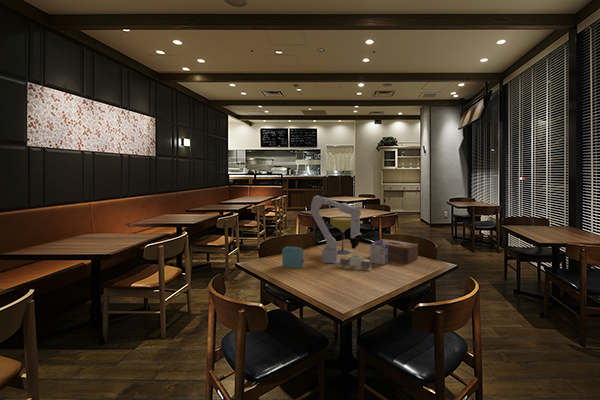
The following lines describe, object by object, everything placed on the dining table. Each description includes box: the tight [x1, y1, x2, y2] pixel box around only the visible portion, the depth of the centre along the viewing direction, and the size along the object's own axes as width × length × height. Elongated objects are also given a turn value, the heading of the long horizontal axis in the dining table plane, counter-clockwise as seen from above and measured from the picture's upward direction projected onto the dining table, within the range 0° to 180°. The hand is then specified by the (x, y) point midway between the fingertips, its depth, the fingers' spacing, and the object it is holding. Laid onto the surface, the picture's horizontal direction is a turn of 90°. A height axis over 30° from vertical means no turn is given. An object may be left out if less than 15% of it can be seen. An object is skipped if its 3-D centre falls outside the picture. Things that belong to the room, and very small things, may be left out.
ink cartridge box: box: [369, 239, 389, 266], centre depth 194 cm, size 10×6×14 cm, turn 56°
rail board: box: [338, 264, 373, 272], centre depth 186 cm, size 19×9×1 cm, turn 68°
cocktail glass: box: [329, 216, 351, 255], centre depth 220 cm, size 18×18×25 cm
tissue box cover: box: [371, 238, 419, 264], centre depth 207 cm, size 26×14×10 cm, turn 46°
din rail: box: [338, 263, 373, 268], centre depth 186 cm, size 19×5×1 cm, turn 68°
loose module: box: [349, 254, 362, 266], centre depth 186 cm, size 6×4×5 cm, turn 68°
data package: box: [281, 245, 304, 270], centre depth 187 cm, size 12×4×12 cm, turn 69°
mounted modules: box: [339, 256, 372, 267], centre depth 186 cm, size 18×5×3 cm, turn 68°
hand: (355, 247), depth 198 cm, fingers open, 7 cm apart
